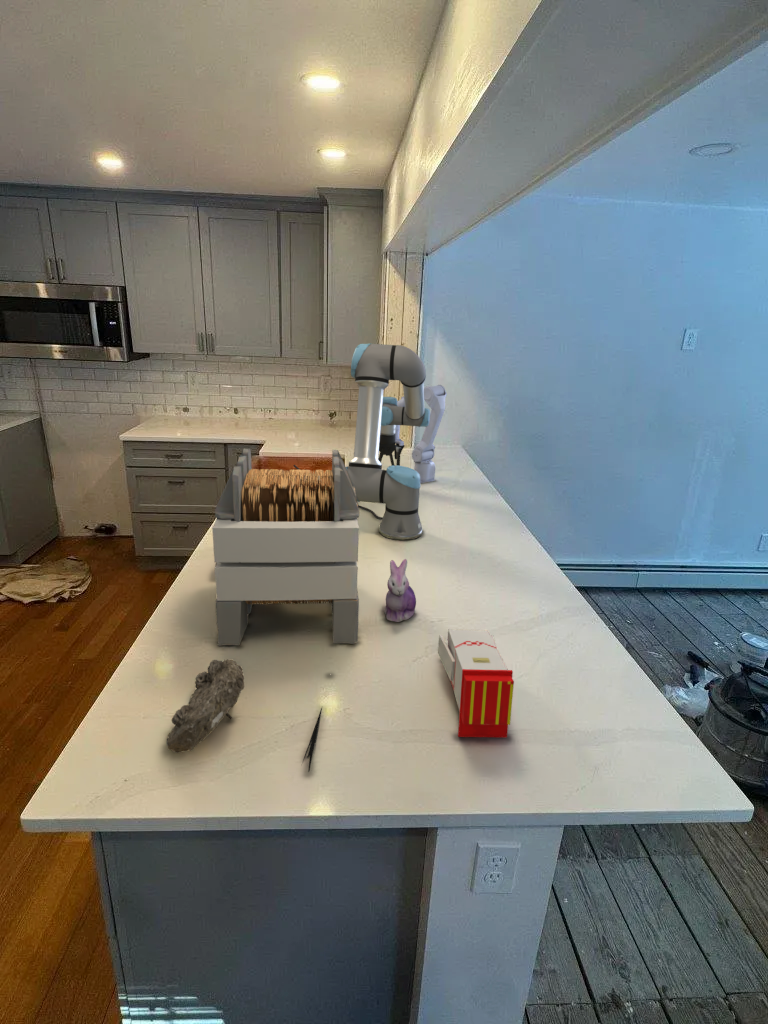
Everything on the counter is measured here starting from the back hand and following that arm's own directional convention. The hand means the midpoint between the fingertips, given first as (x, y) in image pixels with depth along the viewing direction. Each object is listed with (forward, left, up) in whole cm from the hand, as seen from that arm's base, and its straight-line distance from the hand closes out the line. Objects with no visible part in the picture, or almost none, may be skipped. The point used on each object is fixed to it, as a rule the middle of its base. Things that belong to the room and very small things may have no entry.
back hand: (392, 457), depth 274 cm
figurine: (+78, +113, -7) cm, 137 cm away
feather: (+114, +137, -7) cm, 178 cm away
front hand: (+17, +19, -6) cm, 26 cm away
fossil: (+131, +126, -7) cm, 182 cm away
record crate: (+101, +96, -7) cm, 140 cm away
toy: (+84, +146, -7) cm, 168 cm away
